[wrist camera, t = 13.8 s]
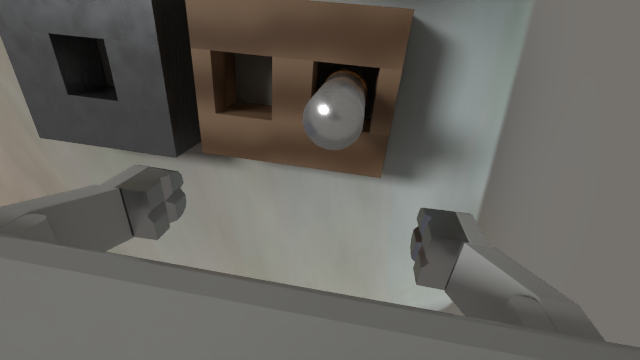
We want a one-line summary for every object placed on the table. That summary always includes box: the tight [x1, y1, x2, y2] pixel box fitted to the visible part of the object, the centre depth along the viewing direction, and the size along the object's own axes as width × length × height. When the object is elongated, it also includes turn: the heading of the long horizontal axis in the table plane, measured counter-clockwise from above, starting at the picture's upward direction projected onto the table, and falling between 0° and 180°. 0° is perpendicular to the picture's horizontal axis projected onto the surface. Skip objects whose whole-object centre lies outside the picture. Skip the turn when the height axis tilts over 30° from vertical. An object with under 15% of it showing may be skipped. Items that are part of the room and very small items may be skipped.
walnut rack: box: [185, 0, 414, 178], centre depth 28 cm, size 14×18×5 cm
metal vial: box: [303, 67, 367, 150], centre depth 25 cm, size 4×4×12 cm
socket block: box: [0, 0, 201, 158], centre depth 30 cm, size 16×16×5 cm
